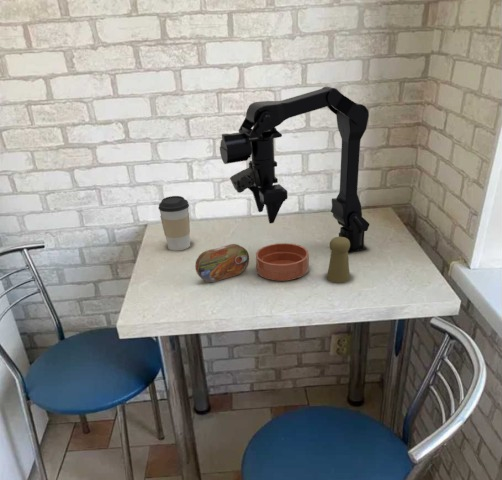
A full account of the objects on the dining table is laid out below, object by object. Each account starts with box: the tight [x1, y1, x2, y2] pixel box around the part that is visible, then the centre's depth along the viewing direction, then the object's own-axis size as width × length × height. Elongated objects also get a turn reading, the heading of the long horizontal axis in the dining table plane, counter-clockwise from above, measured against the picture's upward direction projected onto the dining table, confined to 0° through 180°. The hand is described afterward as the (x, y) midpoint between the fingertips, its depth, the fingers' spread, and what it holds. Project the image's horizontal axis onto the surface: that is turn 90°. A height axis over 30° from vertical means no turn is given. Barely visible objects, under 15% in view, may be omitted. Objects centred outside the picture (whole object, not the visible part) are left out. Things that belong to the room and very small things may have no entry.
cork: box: [326, 236, 351, 284], centre depth 137 cm, size 6×6×11 cm
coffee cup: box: [158, 195, 191, 251], centre depth 160 cm, size 9×9×15 cm
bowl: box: [255, 242, 310, 282], centre depth 144 cm, size 14×14×5 cm
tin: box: [194, 243, 250, 283], centre depth 142 cm, size 15×3×8 cm, turn 117°
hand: (265, 217), depth 141 cm, fingers open, 9 cm apart
